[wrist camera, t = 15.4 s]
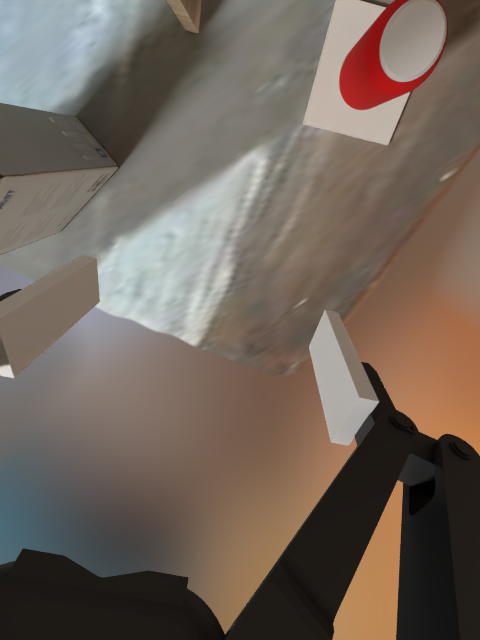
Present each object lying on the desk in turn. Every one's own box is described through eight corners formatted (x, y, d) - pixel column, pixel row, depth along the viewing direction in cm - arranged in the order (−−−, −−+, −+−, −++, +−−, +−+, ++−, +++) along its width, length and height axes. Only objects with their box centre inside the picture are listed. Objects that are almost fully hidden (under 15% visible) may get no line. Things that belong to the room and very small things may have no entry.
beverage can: (361, 26, 29) (414, -43, 19) (406, 62, 30) (478, 16, 20) (325, 91, 32) (354, 63, 22) (367, 122, 33) (412, 109, 23)
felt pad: (302, 124, 34) (303, 123, 34) (336, -3, 29) (337, -6, 28) (386, 145, 35) (387, 145, 34) (436, 24, 29) (439, 22, 28)
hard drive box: (75, 113, 36) (-98, 77, 19) (120, 166, 38) (7, 177, 21) (17, 193, 41) (-156, 220, 24) (60, 234, 44) (-67, 284, 27)
